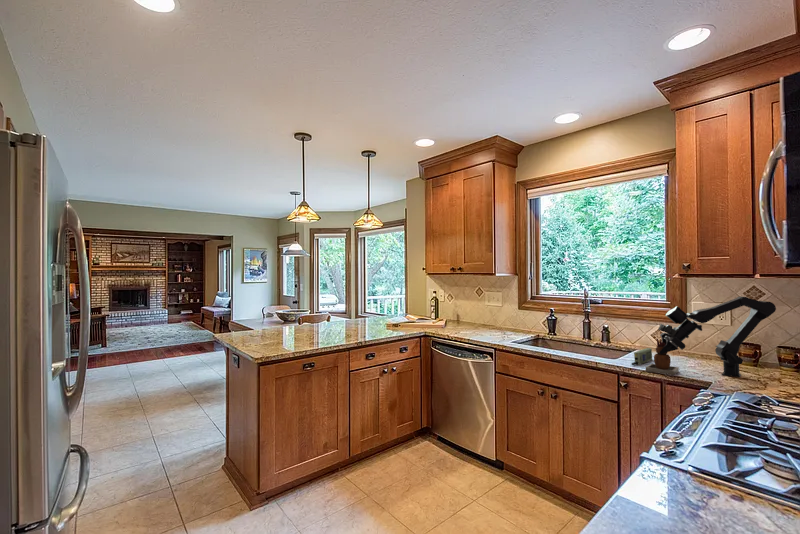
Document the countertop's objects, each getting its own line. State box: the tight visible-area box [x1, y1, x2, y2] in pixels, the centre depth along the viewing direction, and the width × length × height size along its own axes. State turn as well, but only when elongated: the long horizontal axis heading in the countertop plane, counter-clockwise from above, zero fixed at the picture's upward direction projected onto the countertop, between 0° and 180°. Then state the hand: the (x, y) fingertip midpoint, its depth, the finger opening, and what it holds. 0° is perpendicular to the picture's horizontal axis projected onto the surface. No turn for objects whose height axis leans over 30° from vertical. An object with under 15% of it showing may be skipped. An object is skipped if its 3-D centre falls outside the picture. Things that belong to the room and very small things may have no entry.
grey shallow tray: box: [645, 363, 680, 376], centre depth 190 cm, size 11×12×2 cm
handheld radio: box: [631, 347, 653, 366], centre depth 210 cm, size 7×3×25 cm
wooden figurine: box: [653, 338, 671, 370], centre depth 190 cm, size 7×6×15 cm
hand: (658, 352), depth 191 cm, fingers closed on wooden figurine, 4 cm apart
